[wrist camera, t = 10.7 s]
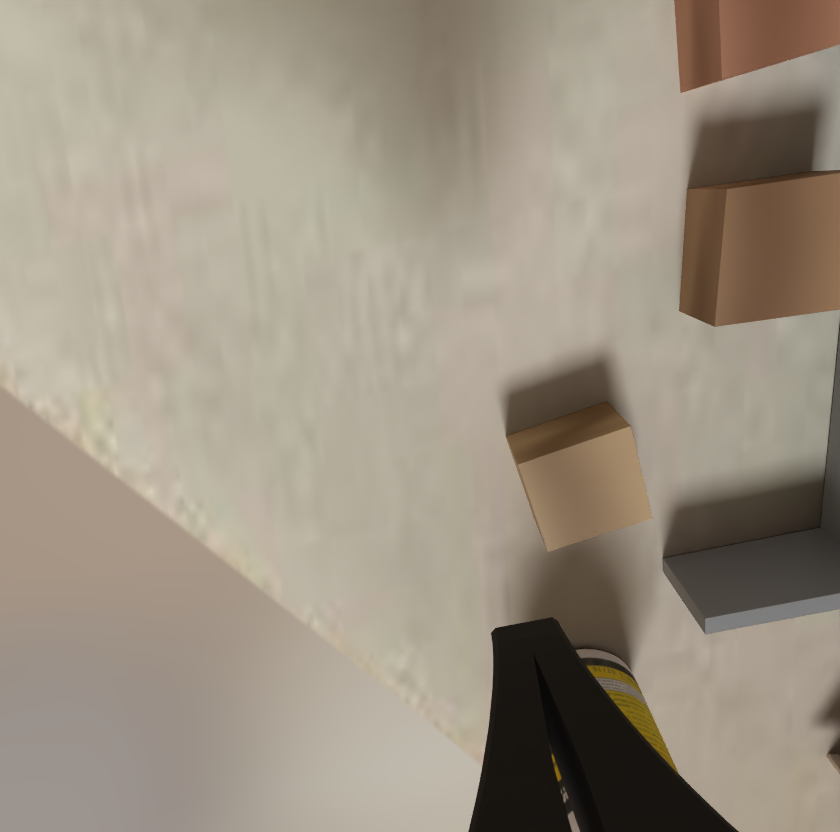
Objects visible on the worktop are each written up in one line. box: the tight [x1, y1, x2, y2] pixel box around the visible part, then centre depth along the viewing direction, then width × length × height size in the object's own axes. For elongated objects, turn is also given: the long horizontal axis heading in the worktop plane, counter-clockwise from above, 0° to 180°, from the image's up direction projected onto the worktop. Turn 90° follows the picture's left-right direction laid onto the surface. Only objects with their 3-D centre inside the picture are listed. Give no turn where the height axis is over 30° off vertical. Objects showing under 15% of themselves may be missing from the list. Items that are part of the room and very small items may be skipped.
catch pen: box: [663, 332, 840, 634], centre depth 16 cm, size 8×27×4 cm, turn 13°
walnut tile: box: [679, 170, 840, 327], centre depth 17 cm, size 4×4×2 cm
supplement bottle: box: [549, 649, 678, 832], centre depth 22 cm, size 5×5×10 cm
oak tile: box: [506, 401, 652, 552], centre depth 20 cm, size 4×4×2 cm
